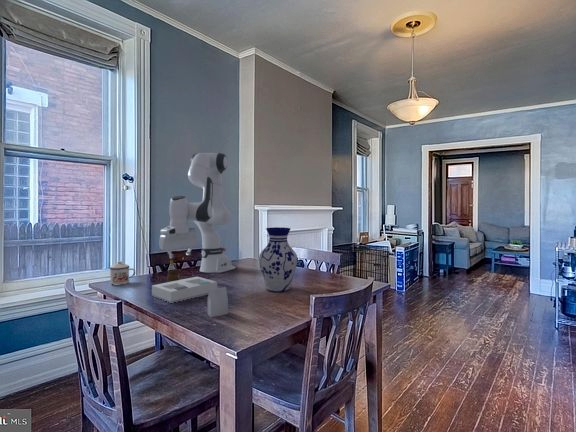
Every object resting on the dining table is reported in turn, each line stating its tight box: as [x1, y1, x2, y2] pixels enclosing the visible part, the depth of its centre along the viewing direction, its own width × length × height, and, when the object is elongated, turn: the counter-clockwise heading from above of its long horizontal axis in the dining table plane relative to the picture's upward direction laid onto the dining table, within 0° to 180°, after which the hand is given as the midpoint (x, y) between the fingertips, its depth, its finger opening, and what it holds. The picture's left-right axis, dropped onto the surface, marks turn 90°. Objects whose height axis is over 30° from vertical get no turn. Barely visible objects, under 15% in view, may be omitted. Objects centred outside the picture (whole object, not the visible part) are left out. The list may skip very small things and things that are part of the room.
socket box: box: [151, 276, 218, 304], centre depth 156 cm, size 24×16×5 cm, turn 139°
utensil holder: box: [166, 259, 180, 282], centre depth 176 cm, size 6×6×12 cm
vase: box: [258, 226, 298, 293], centre depth 166 cm, size 19×19×30 cm
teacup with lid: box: [109, 260, 136, 285], centre depth 176 cm, size 12×9×12 cm
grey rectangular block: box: [207, 286, 229, 318], centre depth 130 cm, size 4×7×10 cm, turn 124°
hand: (180, 256), depth 169 cm, fingers open, 8 cm apart
